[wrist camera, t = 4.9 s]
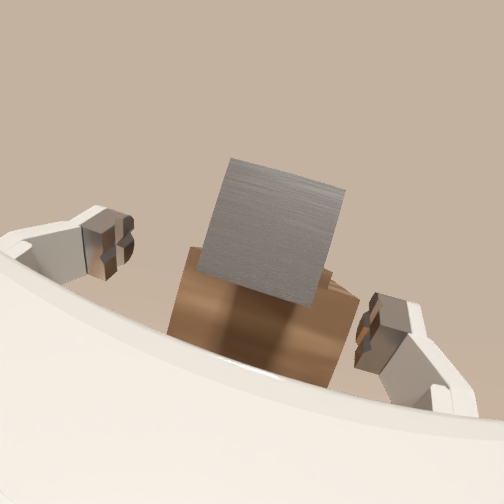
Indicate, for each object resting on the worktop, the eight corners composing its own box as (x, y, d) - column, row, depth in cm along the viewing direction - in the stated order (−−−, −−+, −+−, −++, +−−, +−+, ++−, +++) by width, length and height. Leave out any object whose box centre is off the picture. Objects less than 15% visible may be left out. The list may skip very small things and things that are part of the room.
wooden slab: (233, 562, 18) (365, 282, 17) (129, 523, 19) (195, 229, 18) (255, 475, 33) (335, 270, 32) (180, 449, 34) (241, 241, 33)
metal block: (310, 307, 9) (357, 143, 9) (195, 270, 9) (245, 114, 9) (301, 270, 32) (316, 222, 32) (268, 260, 32) (282, 212, 32)
